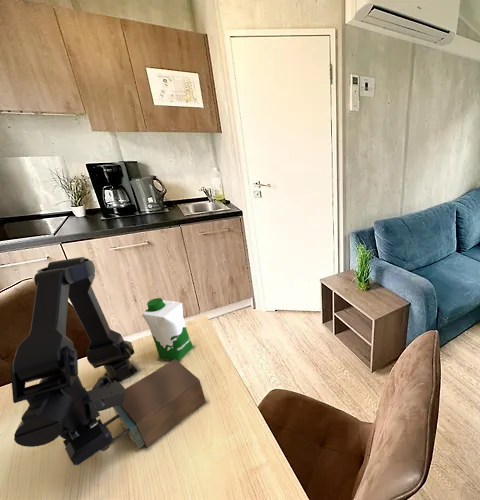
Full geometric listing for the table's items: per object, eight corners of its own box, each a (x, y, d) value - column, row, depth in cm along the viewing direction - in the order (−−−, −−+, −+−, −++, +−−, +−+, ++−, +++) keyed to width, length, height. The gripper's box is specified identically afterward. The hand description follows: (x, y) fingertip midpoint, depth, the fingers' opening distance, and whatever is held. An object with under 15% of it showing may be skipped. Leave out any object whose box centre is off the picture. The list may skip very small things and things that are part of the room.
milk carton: (175, 341, 99) (159, 293, 91) (197, 345, 97) (184, 296, 89) (154, 360, 91) (135, 309, 83) (179, 364, 89) (162, 313, 81)
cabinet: (147, 447, 67) (136, 423, 63) (125, 418, 73) (114, 395, 70) (206, 402, 78) (199, 379, 74) (182, 380, 84) (175, 358, 81)
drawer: (111, 469, 62) (100, 450, 59) (93, 438, 68) (82, 420, 65) (196, 405, 76) (190, 386, 73) (174, 384, 82) (168, 367, 79)
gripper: (131, 394, 58) (151, 443, 64) (99, 354, 68) (118, 400, 74) (57, 438, 49) (88, 490, 55) (32, 385, 59) (60, 435, 65)
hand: (91, 448), depth 63 cm, fingers closed, pressing on drawer
